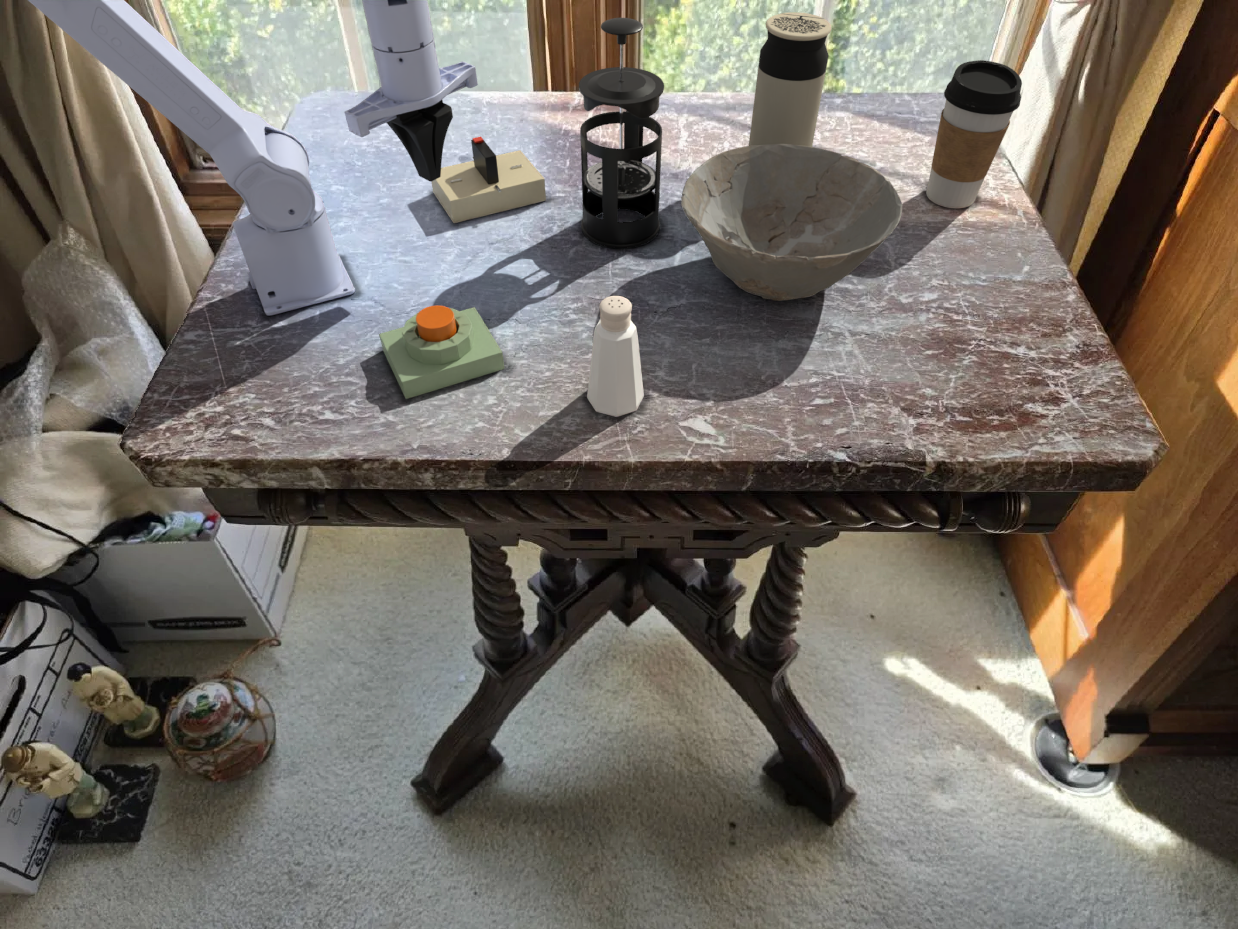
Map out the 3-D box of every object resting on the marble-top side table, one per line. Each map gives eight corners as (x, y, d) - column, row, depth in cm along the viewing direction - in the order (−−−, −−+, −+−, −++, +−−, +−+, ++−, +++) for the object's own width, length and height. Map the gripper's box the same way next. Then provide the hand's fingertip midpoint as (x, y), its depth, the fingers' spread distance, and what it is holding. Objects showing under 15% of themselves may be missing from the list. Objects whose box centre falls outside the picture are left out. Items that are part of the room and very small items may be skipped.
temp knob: (499, 181, 102) (496, 153, 99) (488, 184, 102) (484, 155, 99) (484, 163, 105) (481, 135, 102) (474, 165, 105) (470, 137, 102)
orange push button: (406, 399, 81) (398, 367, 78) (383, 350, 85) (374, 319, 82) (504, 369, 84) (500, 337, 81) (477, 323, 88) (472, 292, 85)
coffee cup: (978, 180, 109) (1019, 60, 98) (991, 216, 103) (1036, 92, 92) (911, 177, 109) (945, 57, 98) (920, 212, 104) (957, 89, 93)
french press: (647, 257, 97) (654, 48, 80) (568, 244, 98) (559, 37, 82) (671, 205, 104) (682, 4, 87) (598, 194, 106) (595, -5, 89)
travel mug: (796, 191, 107) (822, 42, 94) (737, 176, 109) (754, 29, 96) (815, 163, 112) (842, 17, 98) (757, 150, 114) (776, 6, 101)
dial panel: (455, 226, 101) (451, 202, 99) (431, 190, 107) (427, 166, 104) (548, 203, 105) (546, 179, 102) (520, 169, 110) (518, 146, 108)
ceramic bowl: (889, 238, 100) (911, 158, 92) (866, 360, 85) (890, 276, 77) (705, 207, 104) (712, 128, 97) (653, 317, 89) (656, 234, 82)
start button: (425, 347, 80) (422, 332, 79) (414, 325, 82) (411, 311, 81) (461, 336, 81) (459, 322, 80) (449, 315, 83) (447, 301, 82)
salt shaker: (642, 378, 83) (645, 284, 75) (645, 417, 79) (649, 322, 71) (586, 379, 83) (583, 285, 74) (587, 418, 79) (584, 324, 71)
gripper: (435, 6, 84) (457, 138, 94) (311, 53, 77) (349, 190, 87) (483, 24, 81) (500, 158, 91) (358, 75, 73) (392, 214, 83)
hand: (429, 176), depth 88 cm, fingers closed
